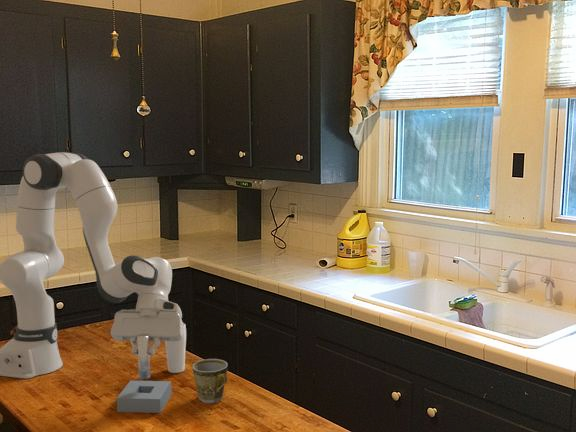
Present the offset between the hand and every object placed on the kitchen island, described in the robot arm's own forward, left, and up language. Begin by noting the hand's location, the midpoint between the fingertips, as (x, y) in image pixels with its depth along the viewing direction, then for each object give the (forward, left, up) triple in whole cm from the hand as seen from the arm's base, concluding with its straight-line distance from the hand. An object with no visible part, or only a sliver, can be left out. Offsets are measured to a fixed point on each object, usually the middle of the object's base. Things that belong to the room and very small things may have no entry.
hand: (142, 353), depth 179 cm
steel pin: (0, +1, -7) cm, 7 cm away
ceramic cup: (+19, +4, -15) cm, 24 cm away
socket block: (0, +1, -15) cm, 15 cm away
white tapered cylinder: (+3, +25, -15) cm, 29 cm away
